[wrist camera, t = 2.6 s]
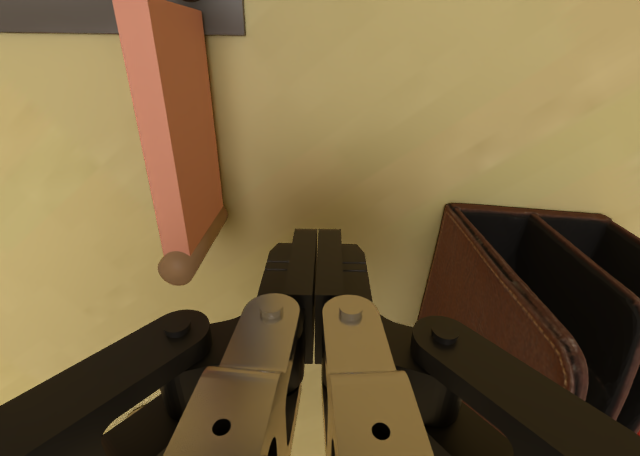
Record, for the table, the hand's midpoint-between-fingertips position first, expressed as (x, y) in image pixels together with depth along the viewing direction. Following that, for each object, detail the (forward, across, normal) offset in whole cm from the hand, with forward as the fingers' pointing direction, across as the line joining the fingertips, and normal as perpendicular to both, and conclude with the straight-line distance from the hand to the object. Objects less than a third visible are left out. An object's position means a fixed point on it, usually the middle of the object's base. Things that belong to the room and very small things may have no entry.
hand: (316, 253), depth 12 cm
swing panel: (+10, +7, -2) cm, 12 cm away
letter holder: (+11, -12, +13) cm, 20 cm away
